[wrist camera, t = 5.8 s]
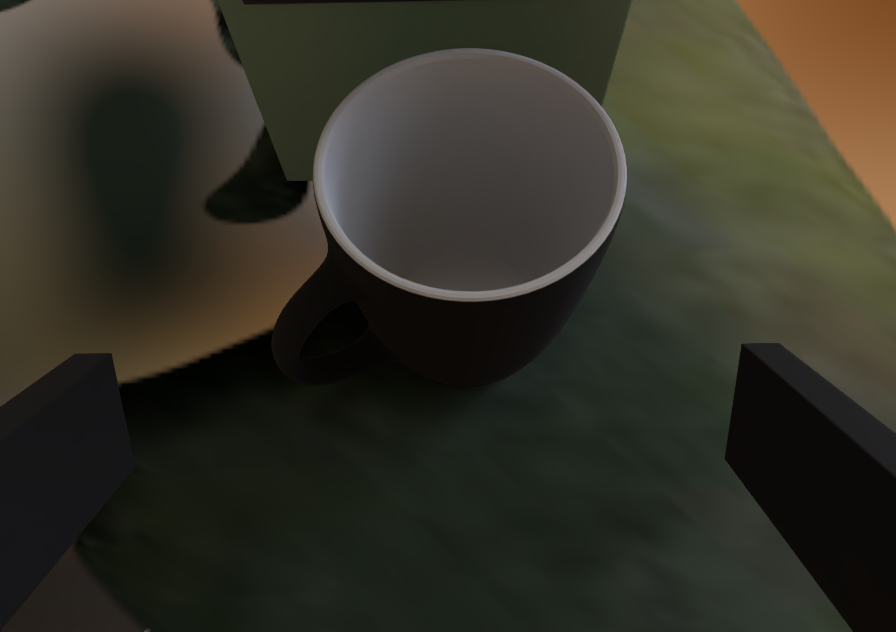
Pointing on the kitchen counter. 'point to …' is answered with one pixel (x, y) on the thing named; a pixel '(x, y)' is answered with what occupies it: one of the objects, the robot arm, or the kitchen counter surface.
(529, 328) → the mug
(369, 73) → the coffee machine
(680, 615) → the kitchen counter surface
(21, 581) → the robot arm
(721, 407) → the kitchen counter surface
